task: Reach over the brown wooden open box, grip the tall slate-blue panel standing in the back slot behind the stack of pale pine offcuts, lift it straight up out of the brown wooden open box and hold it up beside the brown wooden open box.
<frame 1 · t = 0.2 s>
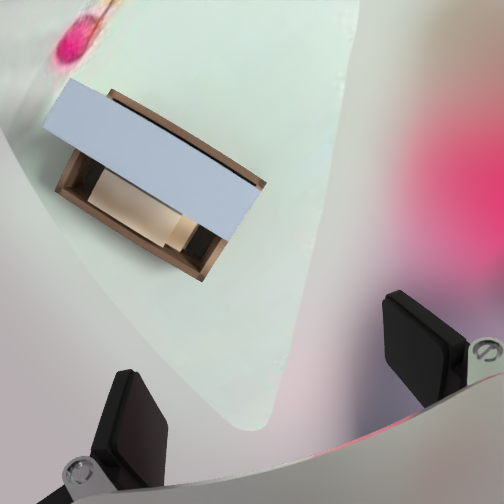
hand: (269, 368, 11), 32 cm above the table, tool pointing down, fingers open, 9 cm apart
offcut stack: (149, 202, 39), resting in brown wooden open box
panel: (174, 160, 38), resting in brown wooden open box
brown wooden open box: (161, 181, 39), on the table
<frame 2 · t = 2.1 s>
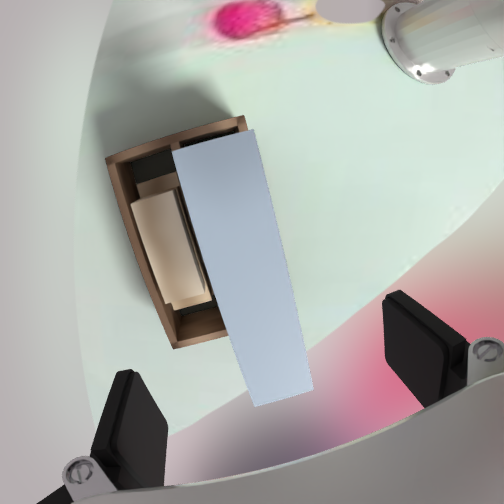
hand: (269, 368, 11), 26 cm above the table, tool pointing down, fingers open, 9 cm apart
offcut stack: (177, 235, 36), resting in brown wooden open box
panel: (231, 220, 36), resting in brown wooden open box
brown wooden open box: (204, 228, 36), on the table
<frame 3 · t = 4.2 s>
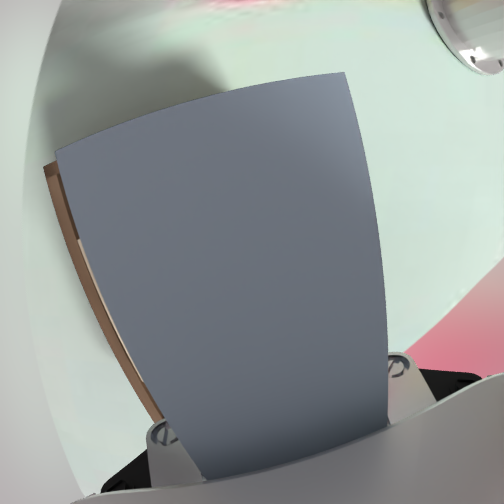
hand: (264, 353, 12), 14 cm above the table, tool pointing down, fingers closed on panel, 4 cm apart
offcut stack: (158, 274, 25), resting in brown wooden open box
panel: (235, 253, 25), resting in brown wooden open box, touching gripper
brown wooden open box: (196, 265, 25), on the table
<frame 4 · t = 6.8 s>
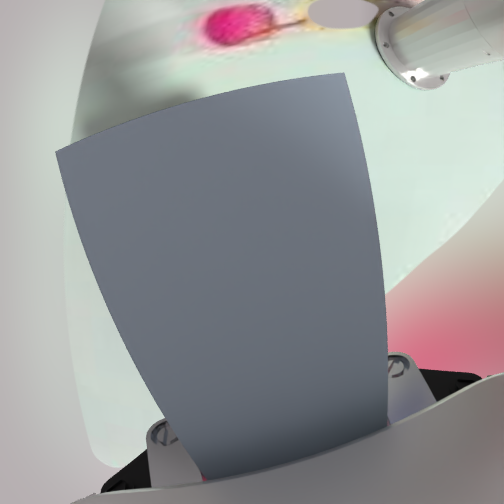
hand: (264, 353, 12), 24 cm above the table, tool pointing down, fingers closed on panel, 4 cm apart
panel: (234, 253, 25), point 11 cm above the table, touching gripper
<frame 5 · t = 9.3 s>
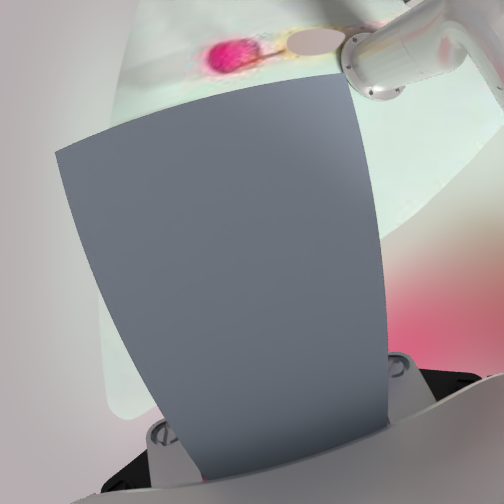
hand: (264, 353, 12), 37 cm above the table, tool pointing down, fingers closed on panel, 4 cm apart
panel: (234, 254, 25), point 23 cm above the table, touching gripper
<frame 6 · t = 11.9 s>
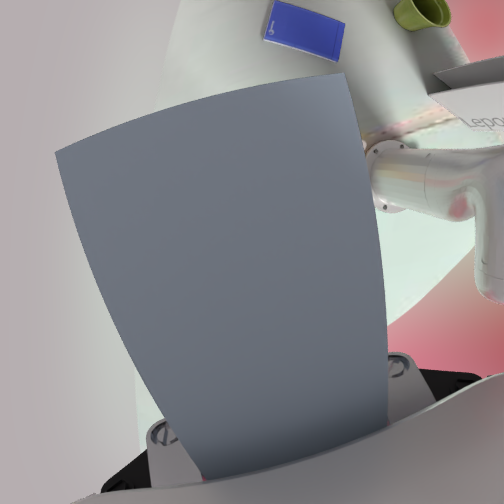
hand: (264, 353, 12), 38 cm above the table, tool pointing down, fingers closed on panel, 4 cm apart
plant pot: (405, 18, 43), on the table
hard drive: (303, 32, 43), on the table
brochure: (454, 102, 48), on the table
panel: (234, 253, 25), point 24 cm above the table, touching gripper
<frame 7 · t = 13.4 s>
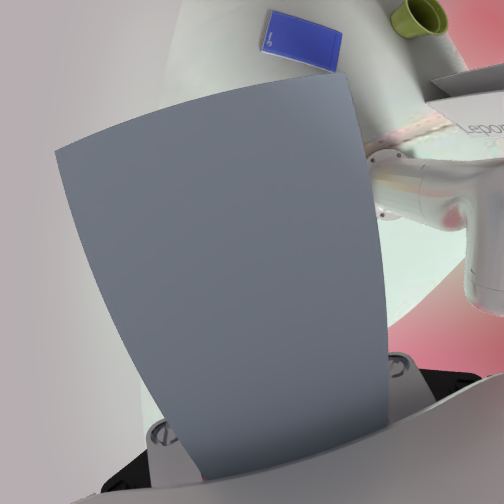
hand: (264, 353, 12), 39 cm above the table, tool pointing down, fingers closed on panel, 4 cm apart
plant pot: (402, 25, 44), on the table
hard drive: (301, 43, 44), on the table
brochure: (451, 109, 50), on the table
panel: (234, 253, 25), point 25 cm above the table, touching gripper
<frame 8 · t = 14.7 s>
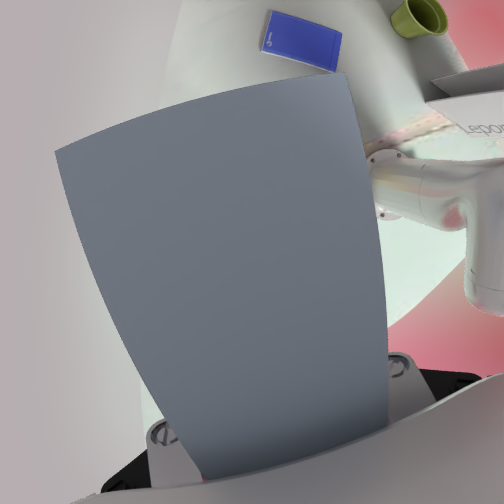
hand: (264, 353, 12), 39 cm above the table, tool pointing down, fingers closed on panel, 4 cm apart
plant pot: (402, 25, 44), on the table
hard drive: (301, 43, 44), on the table
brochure: (451, 109, 50), on the table
panel: (234, 253, 25), point 25 cm above the table, touching gripper
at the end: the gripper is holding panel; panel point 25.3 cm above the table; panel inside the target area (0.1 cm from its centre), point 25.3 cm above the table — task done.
